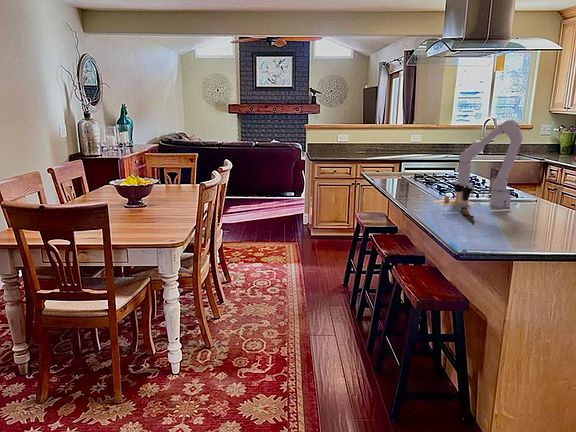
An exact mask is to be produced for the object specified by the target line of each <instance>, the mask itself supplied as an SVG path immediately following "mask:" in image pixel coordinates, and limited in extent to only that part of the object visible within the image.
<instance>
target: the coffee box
mask: <svg viewBox="0 0 576 432" xmlns="http://www.w3.org/2000/svg"><path fill="white" fill-rule="evenodd" d="M500 168H501V167H497V168H496V167H493V168H491V169H490V175H489V176H490V178H489V186H488V194H489V193H490V194H491V191H492V188H493V186H492V182H493V181H494V180H495V179H496V177H497V175H498V173H499V171H500Z"/></svg>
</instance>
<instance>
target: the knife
mask: <svg viewBox="0 0 576 432" xmlns="http://www.w3.org/2000/svg"><path fill="white" fill-rule="evenodd" d="M460 212H461V213H462V217H465V218H466V219H467V220H468V221H469V222H470V223H471V225H473V226H474V225H475V222H476V221H475V220H474V215H471V214H470V212H469V210H468V208H467V207H466V206H463V207H461V208H460Z"/></svg>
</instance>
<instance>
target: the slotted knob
mask: <svg viewBox="0 0 576 432" xmlns="http://www.w3.org/2000/svg"><path fill="white" fill-rule="evenodd" d="M454 197H455V198H454V199H455V201H456V202H459V203H465V202H469V201H470V197H469V198H468V200H467V201H463V191H462V192H456V191H455V196H454Z"/></svg>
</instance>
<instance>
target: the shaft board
mask: <svg viewBox="0 0 576 432" xmlns="http://www.w3.org/2000/svg"><path fill="white" fill-rule="evenodd" d="M429 201H431V202H433V203H436V204H438V205H441V206H443V207H452V206H455V207H456V206H473V205H477V206H478V203H476V202H473V201H470V200H469V202H465V203H459V202H456V201H455V198H450V196H449V195H444V199H443V198H442V199H441V198H440V199H429Z"/></svg>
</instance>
